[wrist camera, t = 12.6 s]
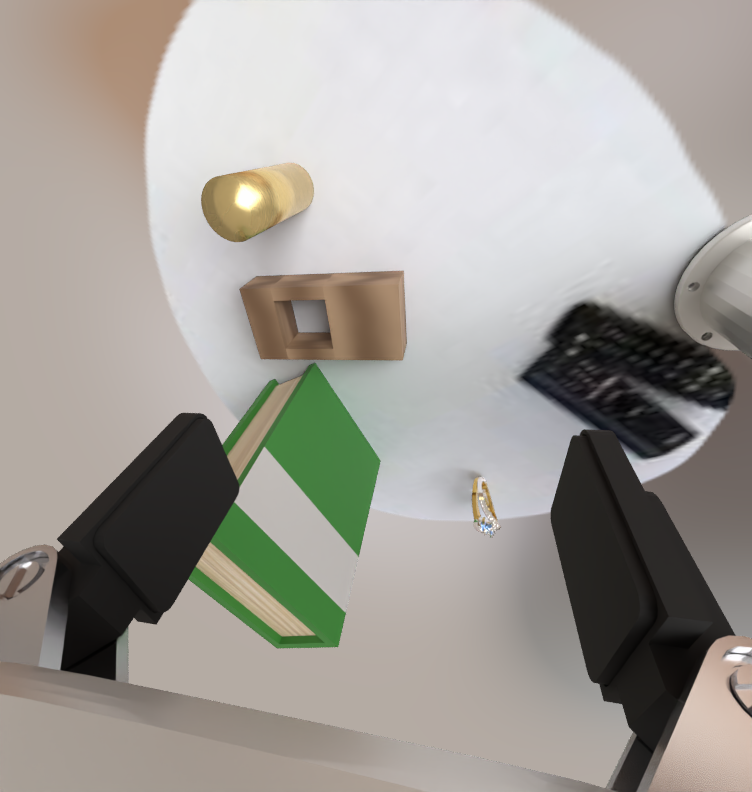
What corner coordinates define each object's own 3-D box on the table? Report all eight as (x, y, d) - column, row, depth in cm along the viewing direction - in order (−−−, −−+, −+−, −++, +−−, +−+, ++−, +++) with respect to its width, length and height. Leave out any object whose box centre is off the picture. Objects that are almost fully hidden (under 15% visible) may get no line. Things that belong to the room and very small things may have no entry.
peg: (309, 160, 33) (248, 173, 23) (317, 210, 35) (265, 240, 25) (267, 164, 33) (192, 178, 24) (278, 213, 36) (213, 243, 26)
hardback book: (269, 381, 48) (146, 547, 29) (315, 362, 45) (211, 533, 26) (338, 471, 56) (277, 648, 37) (380, 460, 53) (338, 646, 34)
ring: (500, 497, 53) (506, 547, 47) (478, 499, 54) (481, 548, 48) (489, 463, 50) (494, 512, 43) (465, 466, 51) (467, 515, 44)
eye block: (403, 270, 37) (398, 284, 34) (406, 342, 41) (402, 360, 38) (256, 276, 40) (239, 289, 37) (274, 342, 44) (260, 359, 41)
